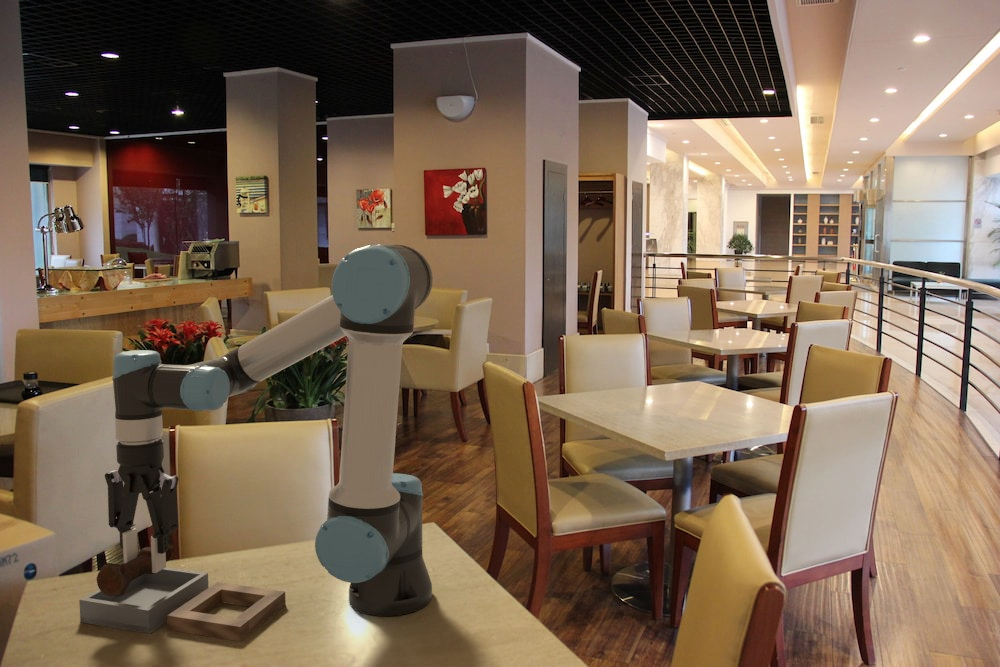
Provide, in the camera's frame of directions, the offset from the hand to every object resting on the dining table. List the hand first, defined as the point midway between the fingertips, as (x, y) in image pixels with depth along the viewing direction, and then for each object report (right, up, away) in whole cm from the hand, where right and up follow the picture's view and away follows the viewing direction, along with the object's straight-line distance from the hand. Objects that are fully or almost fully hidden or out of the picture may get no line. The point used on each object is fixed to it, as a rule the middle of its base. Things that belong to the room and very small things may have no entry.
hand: (145, 567), depth 144 cm
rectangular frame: (+16, -8, -3) cm, 18 cm away
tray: (0, -7, +1) cm, 7 cm away
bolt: (0, +3, -2) cm, 4 cm away
